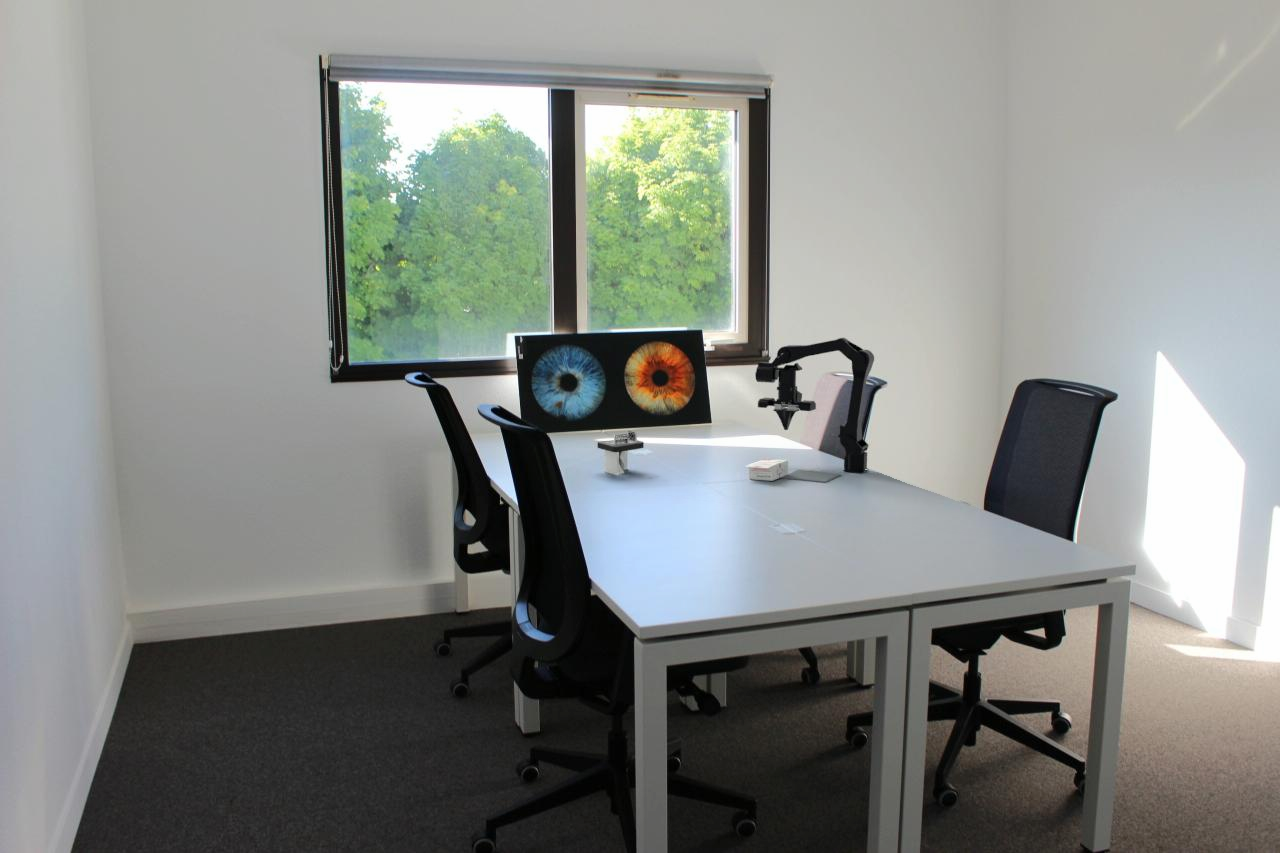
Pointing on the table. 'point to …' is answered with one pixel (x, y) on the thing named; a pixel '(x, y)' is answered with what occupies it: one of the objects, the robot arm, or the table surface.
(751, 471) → the ink cartridge box
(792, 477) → the mat
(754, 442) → the table surface
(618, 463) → the black-topped pedestal
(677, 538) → the table surface
